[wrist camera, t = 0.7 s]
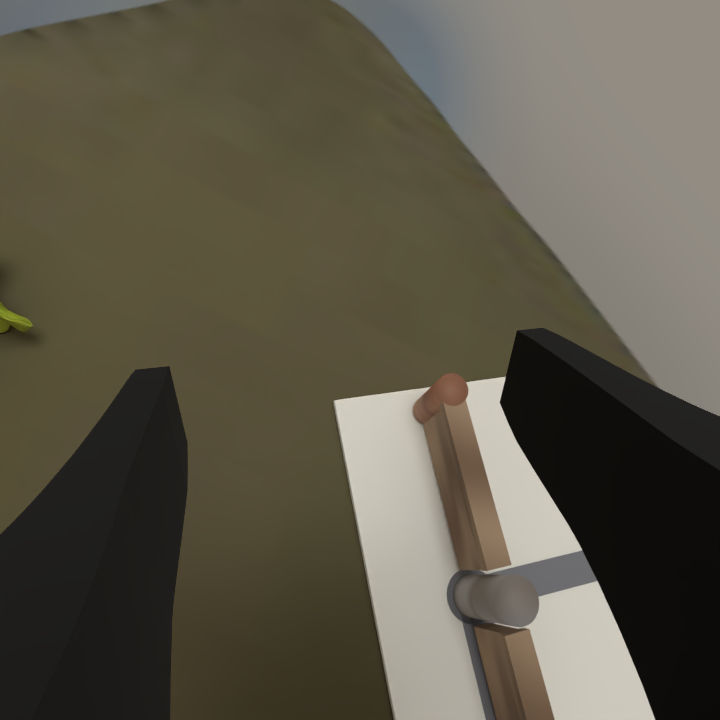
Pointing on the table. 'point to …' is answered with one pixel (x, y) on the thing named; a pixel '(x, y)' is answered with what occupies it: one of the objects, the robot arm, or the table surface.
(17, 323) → the bird rattle
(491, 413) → the card
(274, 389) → the table surface
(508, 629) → the fixed fence section
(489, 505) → the brown wooden bar
